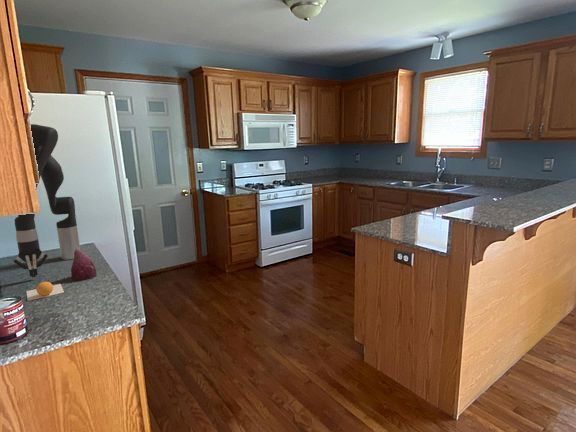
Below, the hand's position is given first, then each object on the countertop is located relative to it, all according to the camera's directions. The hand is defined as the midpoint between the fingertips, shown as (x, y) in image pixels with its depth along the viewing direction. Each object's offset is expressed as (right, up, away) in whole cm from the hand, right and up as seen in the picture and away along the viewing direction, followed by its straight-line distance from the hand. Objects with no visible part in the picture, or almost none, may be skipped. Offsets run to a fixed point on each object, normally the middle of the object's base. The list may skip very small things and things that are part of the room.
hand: (33, 276), depth 157 cm
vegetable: (+21, -1, +3) cm, 21 cm away
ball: (+18, -2, -18) cm, 25 cm away
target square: (+15, -4, -14) cm, 21 cm away
